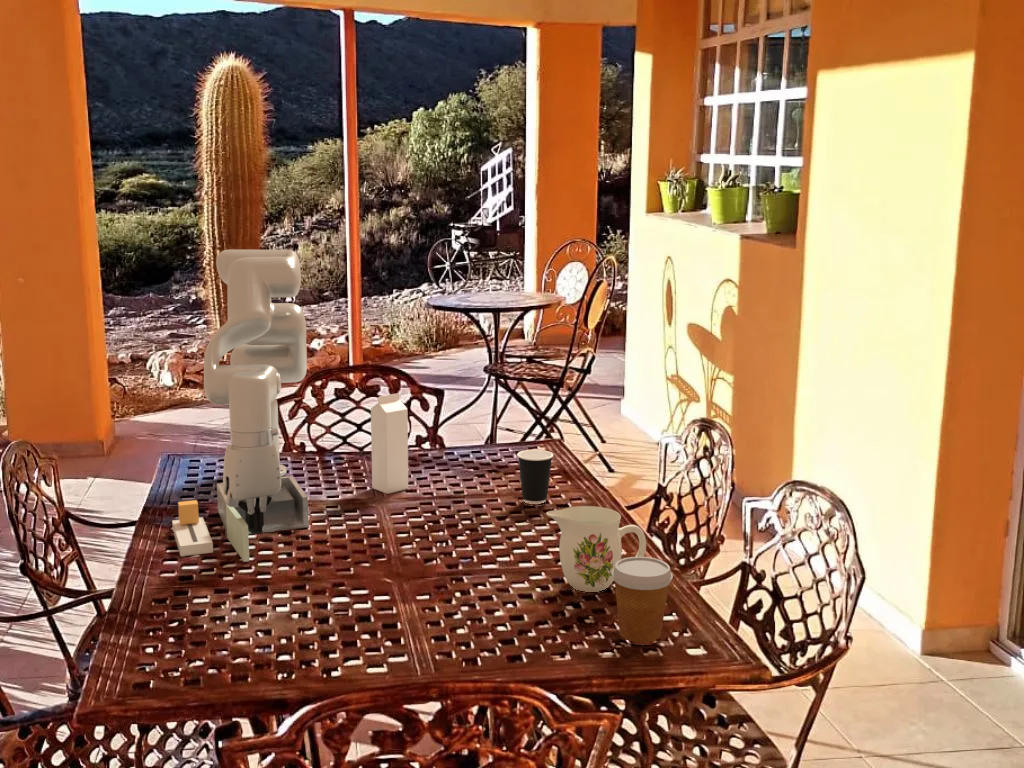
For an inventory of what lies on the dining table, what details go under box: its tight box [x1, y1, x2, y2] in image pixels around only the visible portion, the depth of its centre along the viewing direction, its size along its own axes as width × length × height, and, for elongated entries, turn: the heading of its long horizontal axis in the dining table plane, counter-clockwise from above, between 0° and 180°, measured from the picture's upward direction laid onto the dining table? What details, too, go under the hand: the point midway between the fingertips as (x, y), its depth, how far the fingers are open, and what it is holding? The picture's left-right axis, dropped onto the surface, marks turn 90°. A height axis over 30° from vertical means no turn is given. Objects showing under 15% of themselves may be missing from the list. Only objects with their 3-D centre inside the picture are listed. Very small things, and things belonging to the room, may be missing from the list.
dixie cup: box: [516, 449, 554, 504], centre depth 239 cm, size 8×8×11 cm
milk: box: [370, 392, 409, 494], centre depth 247 cm, size 6×6×22 cm
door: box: [224, 501, 250, 563], centre depth 208 cm, size 1×16×7 cm, turn 27°
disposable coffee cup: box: [612, 556, 674, 642], centre depth 171 cm, size 10×10×12 cm
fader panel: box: [171, 516, 214, 557], centre depth 213 cm, size 16×6×2 cm, turn 22°
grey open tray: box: [216, 475, 309, 535], centre depth 226 cm, size 16×16×6 cm
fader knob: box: [177, 499, 200, 525], centre depth 217 cm, size 2×4×4 cm, turn 112°
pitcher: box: [546, 505, 647, 593], centre depth 192 cm, size 11×18×14 cm, turn 97°
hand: (255, 531), depth 206 cm, fingers closed
